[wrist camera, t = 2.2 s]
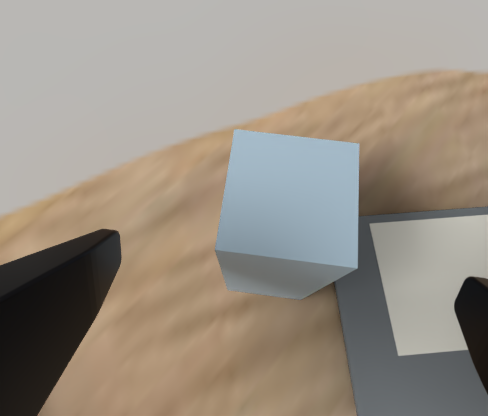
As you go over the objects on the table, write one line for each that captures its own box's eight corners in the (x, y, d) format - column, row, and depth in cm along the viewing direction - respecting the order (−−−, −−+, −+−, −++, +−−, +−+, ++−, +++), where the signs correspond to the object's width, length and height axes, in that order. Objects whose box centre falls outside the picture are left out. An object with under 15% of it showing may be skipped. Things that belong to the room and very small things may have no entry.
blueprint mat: (688, 662, 13) (699, 670, 13) (405, 698, 13) (409, 707, 13) (513, 206, 20) (518, 204, 20) (323, 220, 20) (325, 218, 19)
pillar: (300, 299, 18) (357, 268, 9) (227, 290, 18) (214, 249, 9) (305, 229, 20) (359, 143, 11) (237, 220, 20) (234, 129, 11)
